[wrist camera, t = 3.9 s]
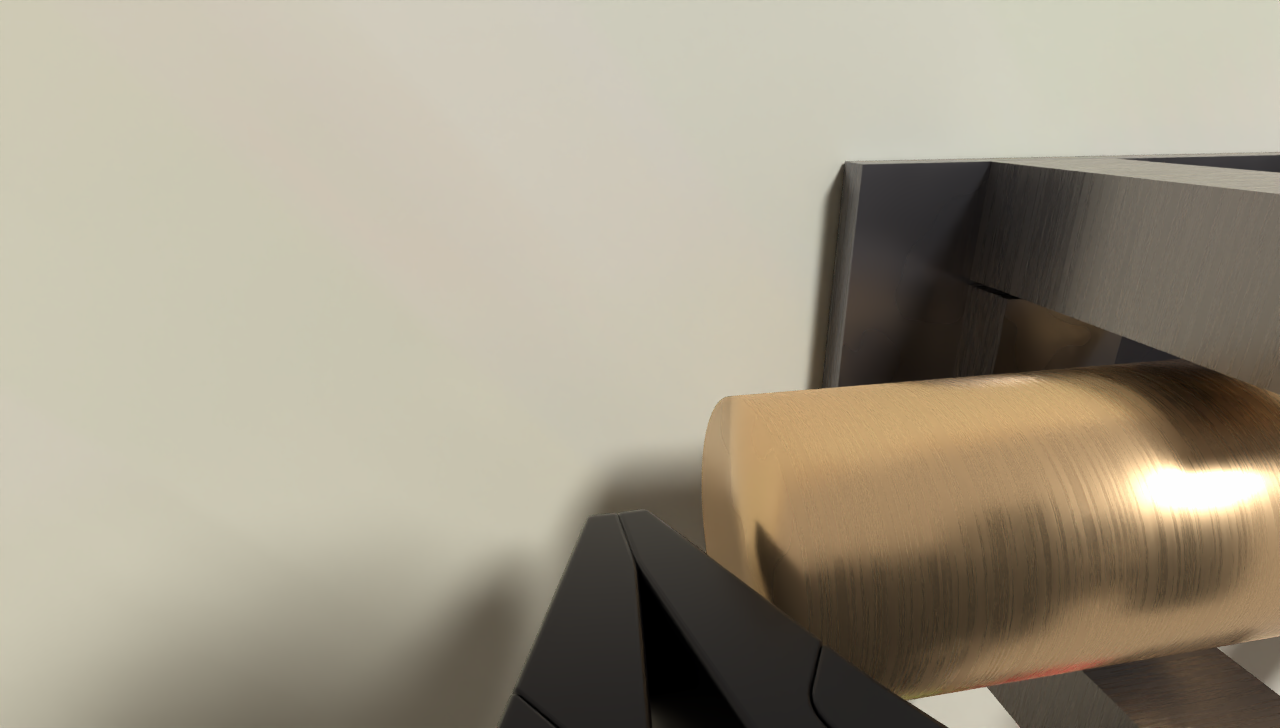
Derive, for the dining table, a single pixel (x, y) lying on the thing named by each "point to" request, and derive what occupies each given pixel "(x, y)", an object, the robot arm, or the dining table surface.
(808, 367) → the dining table surface
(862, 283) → the grey holder rack
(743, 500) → the tube
